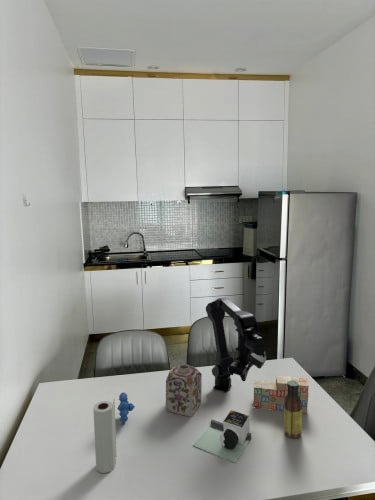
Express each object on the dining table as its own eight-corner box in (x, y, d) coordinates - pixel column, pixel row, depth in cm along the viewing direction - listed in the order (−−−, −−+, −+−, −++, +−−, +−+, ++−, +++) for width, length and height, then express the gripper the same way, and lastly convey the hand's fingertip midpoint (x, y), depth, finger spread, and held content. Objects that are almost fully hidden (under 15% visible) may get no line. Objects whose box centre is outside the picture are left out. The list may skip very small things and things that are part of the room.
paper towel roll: (97, 476, 112) (95, 413, 109) (94, 463, 118) (91, 402, 115) (120, 469, 115) (118, 407, 112) (116, 456, 121) (114, 397, 118)
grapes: (135, 430, 134) (134, 400, 133) (117, 432, 133) (116, 402, 132) (134, 412, 146) (134, 384, 144) (117, 413, 145) (117, 386, 143)
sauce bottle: (302, 431, 134) (305, 381, 131) (300, 441, 128) (302, 389, 125) (284, 426, 137) (286, 377, 134) (281, 436, 131) (283, 385, 128)
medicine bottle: (249, 415, 130) (236, 437, 120) (249, 431, 132) (236, 455, 122) (230, 409, 134) (216, 430, 124) (231, 425, 135) (217, 448, 125)
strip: (210, 425, 137) (210, 421, 137) (212, 423, 138) (212, 419, 138) (250, 439, 129) (250, 435, 129) (251, 437, 130) (251, 433, 130)
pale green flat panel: (193, 445, 126) (193, 445, 126) (208, 427, 136) (208, 426, 136) (235, 463, 118) (235, 462, 118) (248, 441, 128) (248, 441, 128)
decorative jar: (165, 411, 146) (164, 369, 144) (176, 396, 157) (176, 357, 154) (192, 418, 142) (192, 375, 139) (202, 402, 152) (202, 362, 150)
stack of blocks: (253, 408, 148) (254, 380, 147) (253, 400, 155) (254, 373, 153) (307, 414, 144) (308, 385, 142) (305, 405, 150) (306, 378, 148)
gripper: (255, 358, 132) (253, 397, 135) (272, 341, 148) (270, 376, 151) (227, 351, 138) (226, 389, 141) (246, 335, 154) (245, 369, 156)
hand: (243, 380), depth 147 cm, fingers closed
